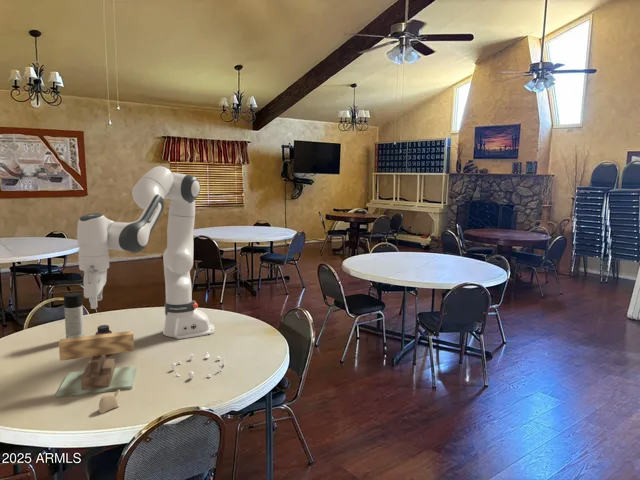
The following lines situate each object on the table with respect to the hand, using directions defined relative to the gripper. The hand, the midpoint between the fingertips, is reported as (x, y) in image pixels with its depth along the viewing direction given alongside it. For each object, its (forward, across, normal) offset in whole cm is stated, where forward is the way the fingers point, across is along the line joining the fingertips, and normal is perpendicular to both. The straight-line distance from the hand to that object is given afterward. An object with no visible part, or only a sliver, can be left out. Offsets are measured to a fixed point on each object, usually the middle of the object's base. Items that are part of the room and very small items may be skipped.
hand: (96, 304), depth 146 cm
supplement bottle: (+27, +24, +2) cm, 36 cm away
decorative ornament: (+27, -20, -5) cm, 34 cm away
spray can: (+27, +43, +16) cm, 54 cm away
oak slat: (+17, -1, 0) cm, 17 cm away
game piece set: (+28, +2, -32) cm, 43 cm away
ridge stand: (+27, -1, 0) cm, 27 cm away
